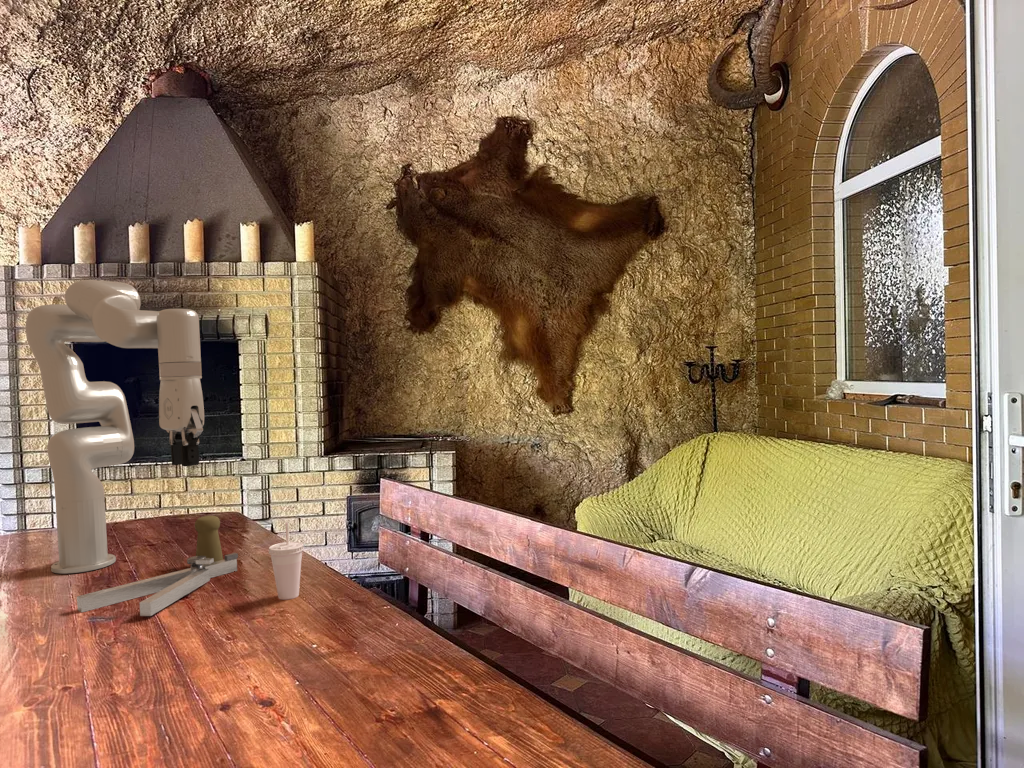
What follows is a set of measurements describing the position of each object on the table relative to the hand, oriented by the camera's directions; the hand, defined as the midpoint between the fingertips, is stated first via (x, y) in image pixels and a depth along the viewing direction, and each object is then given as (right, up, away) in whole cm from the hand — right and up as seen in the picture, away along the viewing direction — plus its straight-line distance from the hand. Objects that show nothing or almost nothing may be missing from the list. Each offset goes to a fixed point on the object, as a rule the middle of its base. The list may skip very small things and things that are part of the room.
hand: (185, 463), depth 137 cm
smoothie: (+22, -25, -5) cm, 34 cm away
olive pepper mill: (-3, -25, +19) cm, 32 cm away
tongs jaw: (-1, -25, -3) cm, 25 cm away
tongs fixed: (-5, -25, +3) cm, 26 cm away
